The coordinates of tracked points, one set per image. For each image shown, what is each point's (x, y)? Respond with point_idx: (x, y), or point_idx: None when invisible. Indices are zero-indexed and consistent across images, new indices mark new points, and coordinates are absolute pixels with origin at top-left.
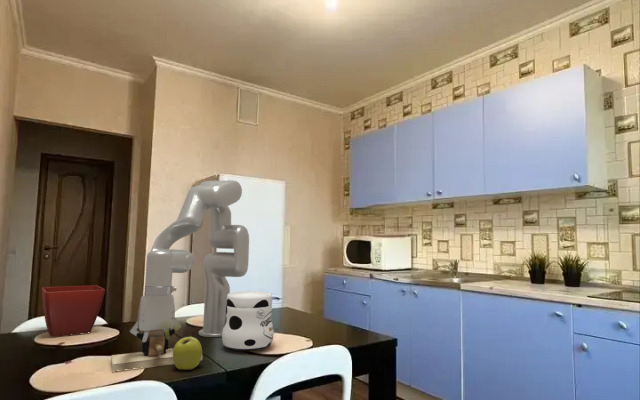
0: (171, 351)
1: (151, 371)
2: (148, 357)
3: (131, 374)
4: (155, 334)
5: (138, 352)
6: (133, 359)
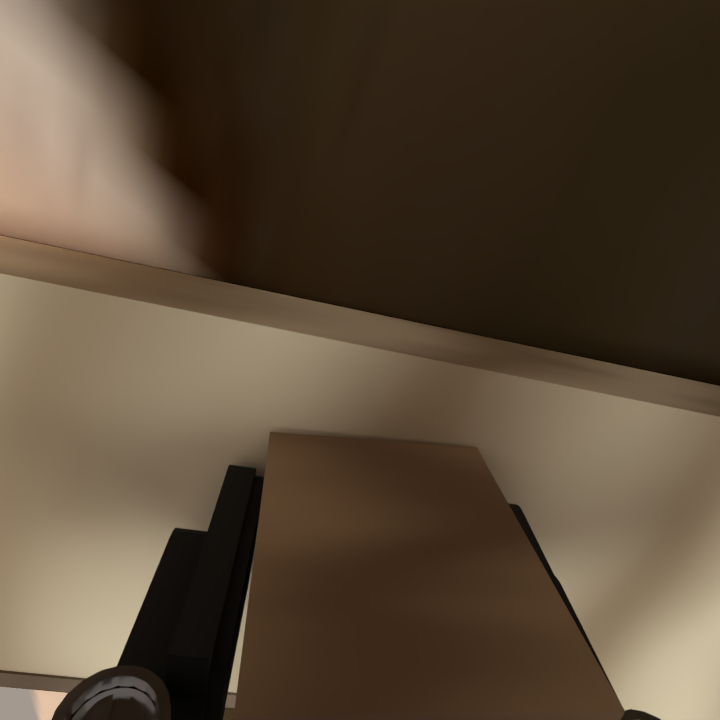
0: (583, 544)
1: (228, 708)
2: (245, 618)
3: (62, 696)
4: (476, 715)
5: (186, 328)
6: (63, 600)
